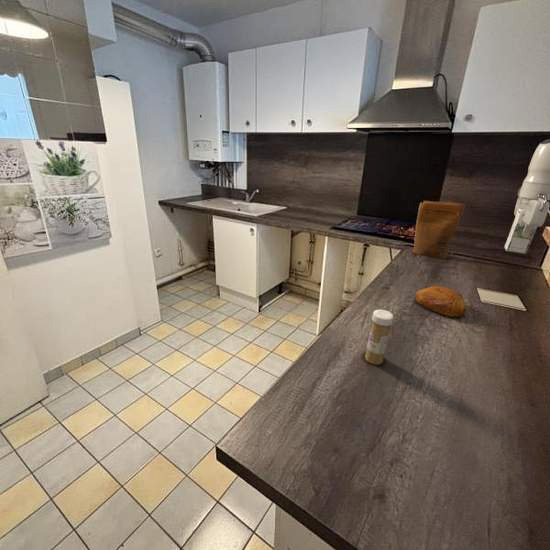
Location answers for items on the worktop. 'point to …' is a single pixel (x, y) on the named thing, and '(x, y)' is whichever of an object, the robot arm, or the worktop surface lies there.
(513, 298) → the napkin
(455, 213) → the pancake mix bag
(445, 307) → the bread loaf
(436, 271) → the worktop surface
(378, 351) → the sprinkles bottle
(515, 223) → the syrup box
